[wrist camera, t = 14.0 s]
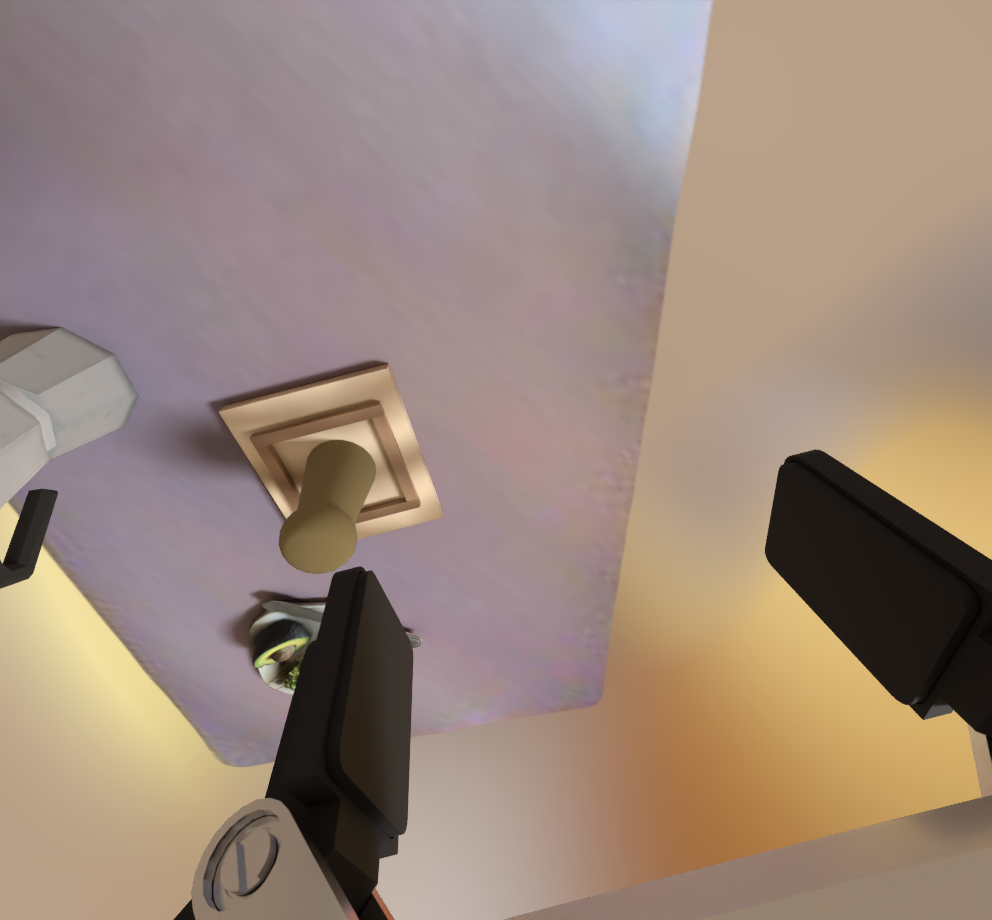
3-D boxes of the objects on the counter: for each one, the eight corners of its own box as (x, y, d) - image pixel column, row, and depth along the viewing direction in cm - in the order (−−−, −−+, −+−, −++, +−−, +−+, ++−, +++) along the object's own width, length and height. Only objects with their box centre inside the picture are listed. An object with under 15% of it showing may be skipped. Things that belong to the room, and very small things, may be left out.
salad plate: (423, 583, 50) (422, 616, 46) (421, 676, 59) (420, 710, 55) (241, 588, 46) (224, 624, 42) (269, 685, 55) (257, 722, 52)
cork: (291, 458, 37) (245, 545, 28) (350, 428, 37) (323, 507, 27) (334, 506, 41) (305, 598, 31) (389, 478, 40) (377, 565, 31)
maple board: (224, 405, 35) (214, 416, 34) (388, 363, 35) (386, 371, 34) (310, 543, 44) (305, 557, 42) (442, 509, 44) (442, 522, 42)
